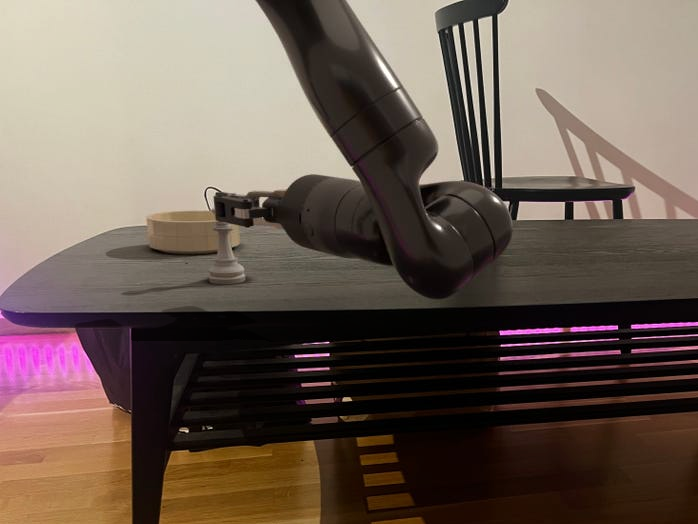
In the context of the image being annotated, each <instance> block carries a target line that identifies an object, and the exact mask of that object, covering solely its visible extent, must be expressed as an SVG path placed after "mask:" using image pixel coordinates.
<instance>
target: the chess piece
mask: <svg viewBox="0 0 698 524" xmlns="http://www.w3.org/2000/svg"><path fill="white" fill-rule="evenodd" d="M210 211H212V212H213V213H214V215H216V213H215V209H214V207H213V208H211V210H210ZM216 224H217V225H215V227H213V231H217V232H218V239H219V243H218V252H216V257H214V258H213V261H214V262H213V264H212V265H211V266H210V267H209V269H208V274H209V275H208V282H210V283H211V284H214V285H234V284H235V285H236V284H241V283H243V282H245V280H246V274H245V268H244V267H243V265H241V264H240V263H239V262H238V257H237V256H235V255H234V253H233V249H232V248H231V245H230V240H229V233H228V231H233V227H232V226H230V225H229V223H225V222H219V221H217V222H216Z"/></svg>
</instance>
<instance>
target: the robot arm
mask: <svg viewBox="0 0 698 524" xmlns="http://www.w3.org/2000/svg"><path fill="white" fill-rule="evenodd" d="M254 1H255V2H256V4H257V5H258V6H259V9H261V11H262V12H263V14H264V15H265V17H266V19H267V20H268V22H269V23H270V26H271V27H272V29H273V30H274V32H275V35H276V36H277V38H278V39H279V41H280V44H281V45H282V48H283V49H284V52H285V54H286V56H287V58H288V59H287V60H288V61H289V64H290V66H291V68H292V70H293V72H294V74H295V77H296V80H297V82H298V83H299V86H300V88H301V90H302V92H303V94H304V96H305V98H306V100H307V102H308V104H309V106H310V107H311V109H312V111H313V112H314V114H315V116H316V118H317V119H318V121H319V122H320V124H321V126H322V127H323V129H324V131H325V132H326V133H327V134H328V136H329V138H330V139H331V141H332V142H333V144H334V145H335V146H336V148H337V149H338V151H339V152H340V154H341V155H342V156H343V158H344V159H345V161H346V162H347V164H348V165H349V167H351V170H352V171H353V173H354V174H355V175H356V177H357V178H358V179H359V180H357V179H351V178H345V177H339V176H330V175H324V174H316V173H315V174H314V173H313V174H312V173H311V174H305V175H303V176H300V177H298V178H296V179H295V180H294V181H293V182H292V183H291V184H289V186H288V187H287V188H286V189H283V188H281V189H277V190H251V191H249V192H247V193H246V194H239V193H238V194H237V192H226V191H216V192H215V195H214V196H213V208H214V209H215V213H216V215H215V219H216V221H219V222H225V223H230V224H234V225H239V227H244V228H245V229H246V228H249V229H250V228H251V227H254V226H267V227H274V228H276V229H278V230H284V232H285V233H286V235H287V236H288V237H289V238H290V240H291V241H292V242H293V243H295V244H296V245H298V246H300V247H302V248H304V249H305V248H306V249H309V250H311V251H317V252H319V253H324V254H327V255H331V256H335V257H338V258H343V259H352V260H353V259H356V260H360V261H365V262H368V263H372V264H374V265H375V264H376V265H379V266H385V267H394V269H395V271H396V273H397V275H398V276H399V278H401V279H402V281H403V282H404V284H405V285H406V286H407V287H409V288H410V289H411V290H412V291H414V292H415V293H417V294H419V295H420V296H422V297H425V298H428V299H431V300H444V299H447V298H450V297H451V296H453V295H455V294H456V293H458V292H459V291H460V290H461V289H462V288H464V287H465V286H466V285H467V284H469V282H470V281H471V280H473V279H474V278H475V277H477V276H478V275H479V274H480V273H482V272H483V271H484V270H485V269H486V268H488V266H489V265H491V264H492V263H493V262H494V261H496V260H497V259H498V258H500V256H501V255H502V254H503V253H504V252H505V251H506V250H507V248H508V246H509V244H510V242H511V240H512V237H513V227H514V225H513V218H512V215H511V213H510V211H509V209H508V207H507V205H506V203H504V201H503V200H502V199H501V198H500V197H499V196H498V195H497V194H496V193H494V191H492V190H490V189H489V188H487V187H484V186H483V185H480V184H477V183H474V182H471V181H463V180H449V181H438V182H431V183H423V184H420V180H421V178H422V176H423V174H424V173H425V172H426V171H427V170H428V168H429V167H430V166H431V165H432V164H433V162H434V161H436V158H437V156H438V153H439V149H440V148H439V143H438V140H437V138H436V136H435V134H434V132H433V129H431V127H430V125H429V124H428V122H427V121H426V119H425V118H424V116H423V114H422V113H421V111H420V110H419V108H418V106H417V105H416V104H415V102H414V100H413V98H412V97H411V95H410V94H409V93H408V91H407V90H406V88H405V87H404V85H403V83H402V82H401V80H400V79H399V78H398V75H397V74H396V72H395V71H394V70H393V68H392V67H391V65H390V63H389V62H388V61H387V60H386V57H385V56H384V54H382V52H381V50H380V49H379V47H378V46H377V45H376V43H375V42H374V40H373V39H372V37H371V35H370V34H369V32H368V31H367V30H366V27H364V25H363V24H362V22H361V21H360V19H359V18H358V16H357V15H356V12H355V11H354V10H353V8H352V6H351V5H350V4H349V2H348V1H347V0H254ZM261 198H266V199H265V200H264V201H263V202H262V203H261V205H260V199H261Z"/></svg>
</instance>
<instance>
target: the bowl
mask: <svg viewBox="0 0 698 524" xmlns="http://www.w3.org/2000/svg"><path fill="white" fill-rule="evenodd" d="M216 222H217V221H216V219H215V215H214V213H213V212H212V211H211V210H197V209H195V210H170V211H163V212H161V211H160V212H155V213H151V214H147V215H146V216H145V223H146V230H147V232H146V233H147V240H148V246H149V248H151V249H154V250H157V251H160V252H163V253H167V254H176V255H204V254H205V255H206V254H214V253H218V243H219V239H218V232H217V231H213V227H215V225H217V224H216ZM229 225H230V226H232V227H233V231H228V233H229V240H230V245H231V249H232V248H235V247H238V246H240V244H241V235H240V234H241V233H240V226H239V225H234V224H230V223H229Z"/></svg>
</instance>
